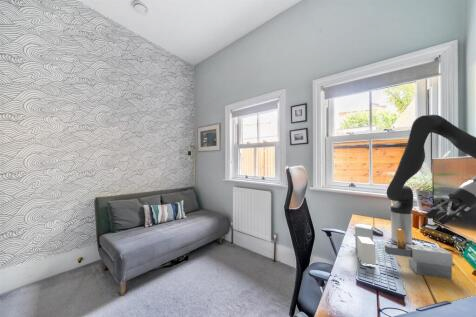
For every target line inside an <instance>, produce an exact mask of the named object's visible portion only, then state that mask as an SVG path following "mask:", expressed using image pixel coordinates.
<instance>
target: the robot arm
mask: <svg viewBox="0 0 476 317" xmlns="http://www.w3.org/2000/svg"><path fill="white" fill-rule="evenodd" d="M430 134H435V135H438V136H441V137H442V138H445V139H447V140H448V141H449V142H450V143H451V144H452V145H453V146H454V147H456V149H458V150H459V151H460V152H462V153H464V154H466V155H468V156H470V158H474V159H475V160H476V136H474V135H471V134H470V133H468V132H466V131H464V130H463V129H461V128H460V127H457V125H454V124H453V123H452V122H450V121H448V120H447V119H446V118H444V117H443V116H441V115H439V114H426V115H424V114H423V115H419V116H418V117H416V118H415V119H414V120H413V122H412V124H411V127H410V131H409V136H408V140H407V142H406V145H405V148H404V150H403V153H402V155H401V157H400V160H399V162H398V163H399V164H398V166H397V168H396V171H395V173H394V175H393V177H392V180H391V182H390V183H389V184H388V186H387V189H386V197H387V198H388V199H389V200H391V201H394V202H397V203H395V204H393V205H391V207H390V229H391V230H390V232H391V235H390V236H391V240H392V241H393V242H396V243H397V229H404V230H405V245H406V244H410V245H413V229H412V226H413V225H412V223H413V222H412V211H413V209H414V192H413V190H412V188H411V187H410V186H408V185H406V183H407V182H408V181H409V180H410V179H412V177H414V176H415V175H417V173H419V171H421V169H422V167H423V165H424V162H425V160H426V150H425V143H426V140H427V138H428V136H429V135H430ZM475 206H476V175H475V176H473V177H472V178H470V179H469V180H467V181H466V182H464V183H462V184H461V185H459V186H458V187H457V188H455V189H453V191H451V192H450V193H449V194H448V199H447V200H445V199H444V198H441V199H438V200H437V201H435V202H434V203H433V204H432V205H430V206H429V208H430V210H428V211H427V212H426V213H424V216H425V217H426V218H427V219H431V218H433V217H435V216H436V215H438V214H439V213H446V214H444V215H442V216H440V217H439V218H438V219H437V222H438V223H439V224H441V225H445V224H447V223H449V222H450V221H452V220H455V219H456V220H458V221H459V220H461V219H463V218H464V217H465V216H467V215H468V214H469V213H471V212H472V211H473V208H474V207H475Z"/></svg>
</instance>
